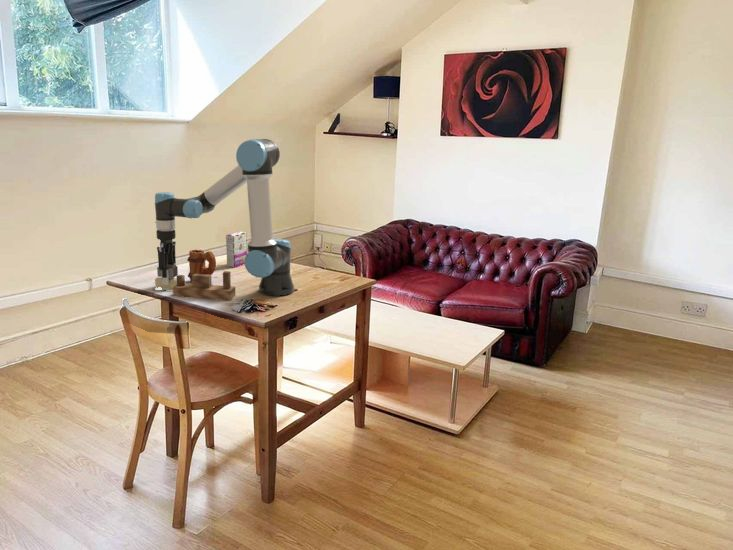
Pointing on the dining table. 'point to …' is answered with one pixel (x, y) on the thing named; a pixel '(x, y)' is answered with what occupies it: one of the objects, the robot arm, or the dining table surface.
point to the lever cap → (172, 271)
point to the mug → (201, 263)
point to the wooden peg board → (204, 287)
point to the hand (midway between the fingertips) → (168, 282)
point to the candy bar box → (236, 249)
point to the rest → (166, 287)
